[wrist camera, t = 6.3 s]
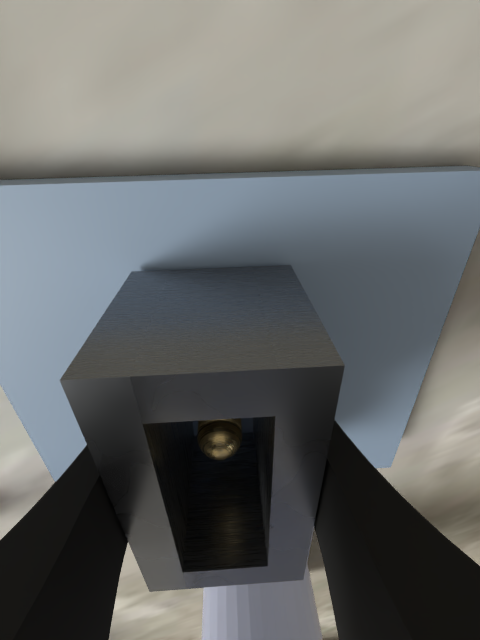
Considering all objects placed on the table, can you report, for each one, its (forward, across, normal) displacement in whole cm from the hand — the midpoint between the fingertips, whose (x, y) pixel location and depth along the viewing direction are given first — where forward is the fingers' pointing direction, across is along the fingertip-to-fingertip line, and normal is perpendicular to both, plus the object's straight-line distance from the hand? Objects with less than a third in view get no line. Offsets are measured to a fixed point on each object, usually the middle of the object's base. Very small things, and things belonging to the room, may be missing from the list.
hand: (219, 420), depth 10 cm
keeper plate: (+4, 0, 0) cm, 4 cm away
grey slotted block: (+2, 0, 0) cm, 2 cm away
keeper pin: (+2, 0, 0) cm, 2 cm away
